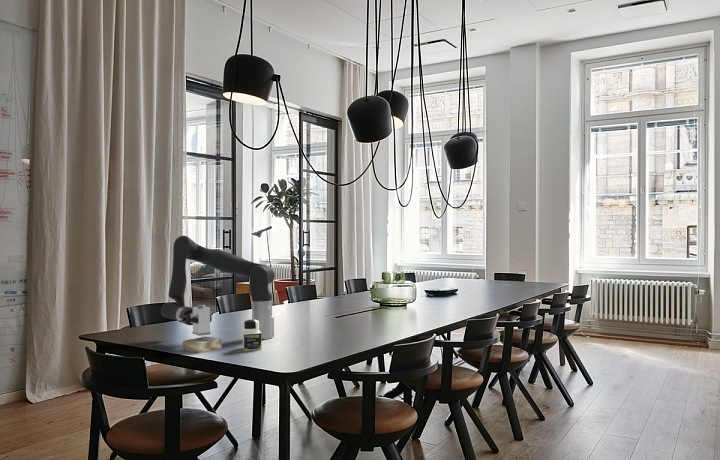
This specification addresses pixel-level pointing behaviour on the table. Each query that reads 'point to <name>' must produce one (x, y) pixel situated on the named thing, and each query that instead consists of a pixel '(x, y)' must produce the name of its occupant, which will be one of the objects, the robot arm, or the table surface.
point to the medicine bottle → (251, 335)
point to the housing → (201, 320)
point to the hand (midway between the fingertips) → (204, 320)
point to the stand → (202, 344)
